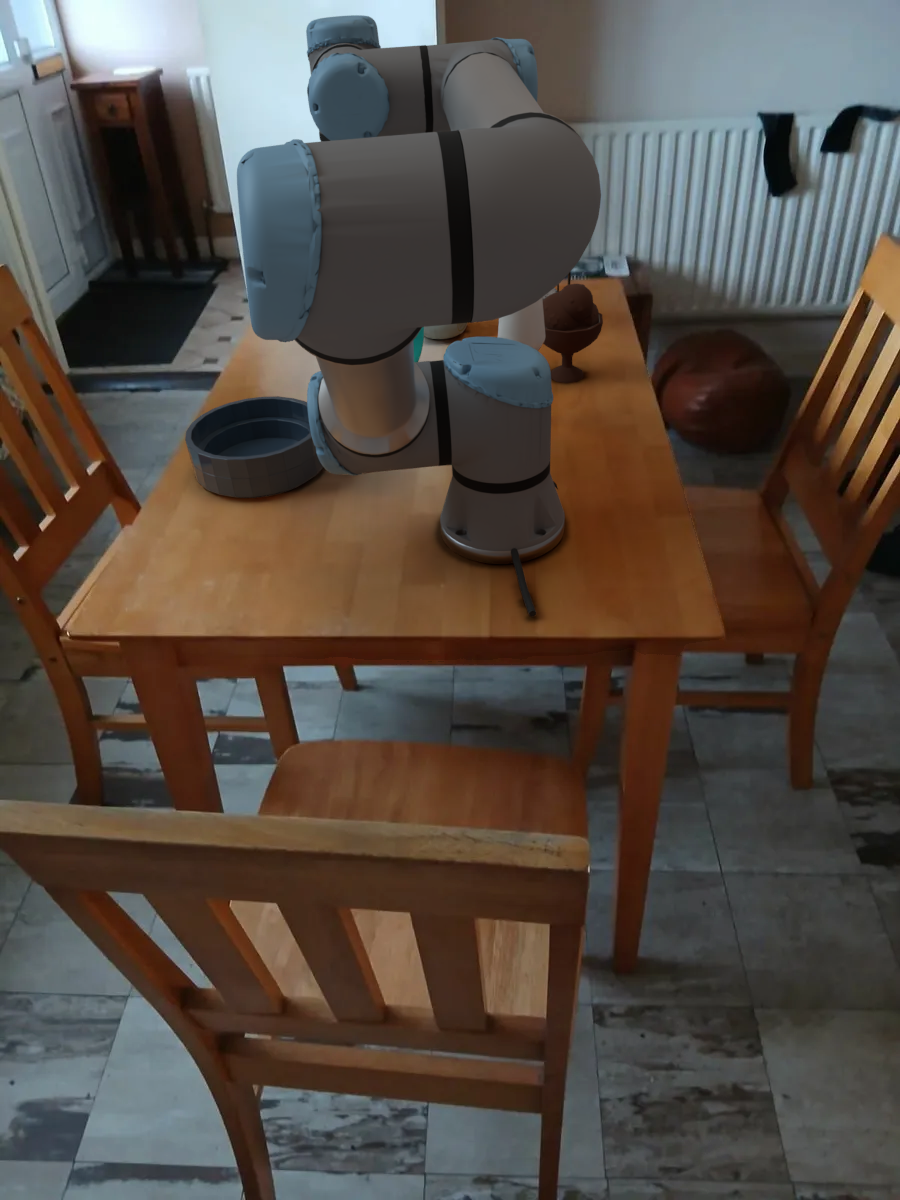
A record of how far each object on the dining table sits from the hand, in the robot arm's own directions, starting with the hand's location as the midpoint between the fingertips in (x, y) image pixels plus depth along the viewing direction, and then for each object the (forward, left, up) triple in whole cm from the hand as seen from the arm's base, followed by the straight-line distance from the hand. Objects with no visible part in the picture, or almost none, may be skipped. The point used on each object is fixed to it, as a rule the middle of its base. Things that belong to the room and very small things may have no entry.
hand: (378, 362), depth 114 cm
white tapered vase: (+14, -18, -16) cm, 28 cm away
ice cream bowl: (+30, -25, -16) cm, 42 cm away
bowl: (+1, +19, -16) cm, 24 cm away
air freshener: (+49, -3, -16) cm, 52 cm away
